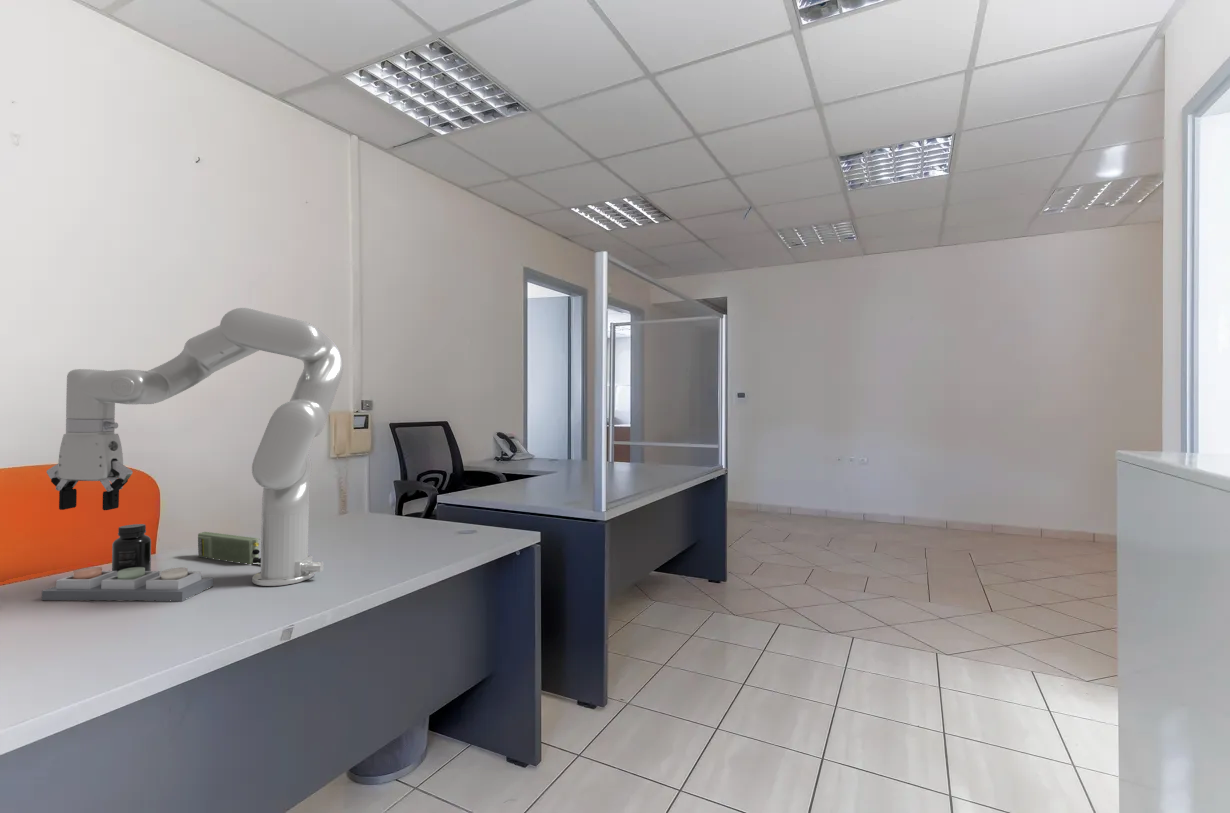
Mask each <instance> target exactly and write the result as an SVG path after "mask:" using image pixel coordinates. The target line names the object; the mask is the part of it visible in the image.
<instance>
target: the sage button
mask: <svg viewBox="0 0 1230 813" xmlns="http://www.w3.org/2000/svg"><path fill="white" fill-rule="evenodd" d="M144 575H145V568H144V567H134V568H127V569H123V570H120V571H118V574H117V579H125V580H134V579H136V578H139V577H142V576H144Z"/></svg>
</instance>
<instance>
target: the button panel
mask: <svg viewBox="0 0 1230 813" xmlns="http://www.w3.org/2000/svg"><path fill="white" fill-rule="evenodd" d="M160 572H161V571H159V570H158V571H157V570H151V571H145V575H144V576H142V577H139V578H136V579H134V580H125V579H117V571H112V570H102V575H100V576H97V577H94V578H91V579H73V574H72V575H69V576H65V577H62V578H59V579H57V580H56V585H55V586H52V587H50V588H47V589H44V590H41V601H42V600H148V601H147V602H184V601H186V600H187V599H186V598H188V599H190V598H189V597H191V596H193V595H195V594H197V593H199V592H201V593H203V592H204V591H203V590H205V589H207V588H209V587H211V586H213V587H214V578H213V577H202V571H192V570H191V571H189V570H188V576H186V577H183V578H181V579H178V580H161V575H160V574H161V573H160ZM202 591H203V592H202ZM205 591H206V590H205ZM199 594H200V593H199ZM197 595H198V594H197ZM195 596H196V595H195ZM193 597H194V596H193ZM191 598H192V597H191ZM185 599H186V600H185ZM154 600H156V601H154ZM170 600H171V601H170ZM183 600H184V601H183Z"/></svg>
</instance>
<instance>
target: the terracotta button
mask: <svg viewBox="0 0 1230 813" xmlns="http://www.w3.org/2000/svg"><path fill="white" fill-rule="evenodd" d="M102 571H103V567H102V566H89V567H83V568H78V569H75V570H74V571H73V574H72V575H73V579H91V578H94V577H97V576H100V575H102Z"/></svg>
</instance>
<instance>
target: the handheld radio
mask: <svg viewBox="0 0 1230 813" xmlns="http://www.w3.org/2000/svg"><path fill="white" fill-rule="evenodd" d="M259 540H261V538H259V537H251V536H249V537H248V536H243V535H237V534H236V535H235V534H228V533H220V532H219V533H218V532H210V531H202V532H200V533H198V534H197V546H198V547H197V550H198V553H197V554H198V558H200V557H207V558H214V559H220V560H227V561H233V562H240V563H247V564H253V563H259V564H261V557H259V556H260V553H261V550H259V545H260V543H259ZM207 558H206V559H207ZM214 559H213V560H214ZM220 560H219V561H220ZM227 561H226V562H227ZM233 562H232V563H233ZM240 563H239V564H240Z"/></svg>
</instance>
